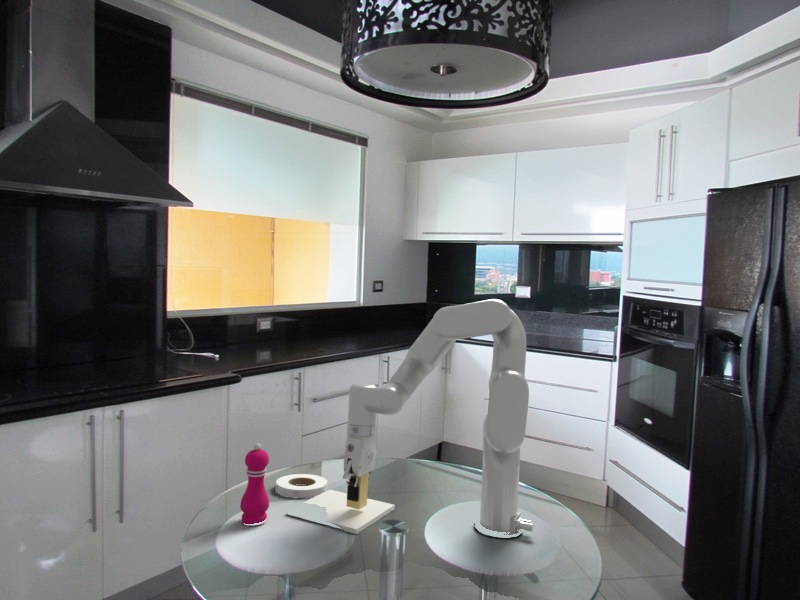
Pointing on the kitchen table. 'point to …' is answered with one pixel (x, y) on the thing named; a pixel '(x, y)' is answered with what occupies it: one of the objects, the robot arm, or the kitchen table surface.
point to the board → (350, 511)
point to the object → (289, 489)
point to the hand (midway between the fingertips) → (357, 497)
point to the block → (360, 493)
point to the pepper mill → (255, 487)
